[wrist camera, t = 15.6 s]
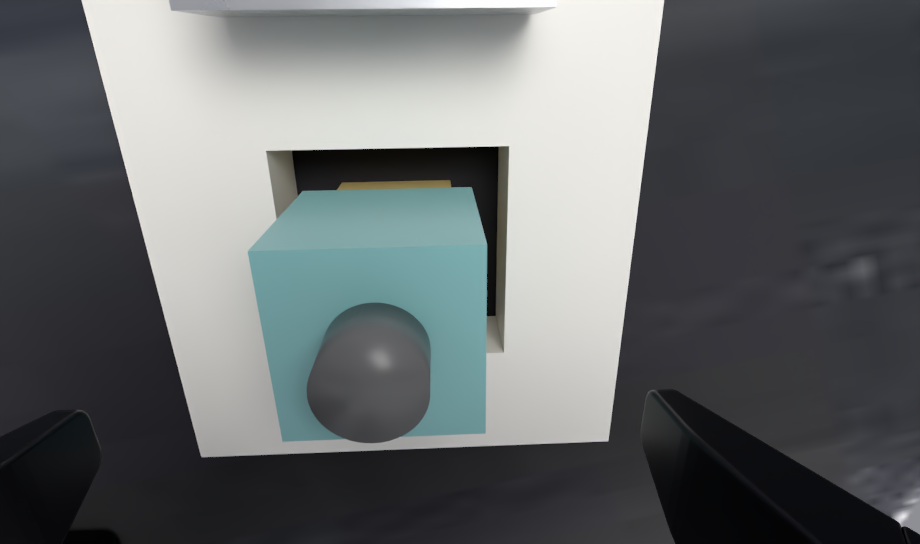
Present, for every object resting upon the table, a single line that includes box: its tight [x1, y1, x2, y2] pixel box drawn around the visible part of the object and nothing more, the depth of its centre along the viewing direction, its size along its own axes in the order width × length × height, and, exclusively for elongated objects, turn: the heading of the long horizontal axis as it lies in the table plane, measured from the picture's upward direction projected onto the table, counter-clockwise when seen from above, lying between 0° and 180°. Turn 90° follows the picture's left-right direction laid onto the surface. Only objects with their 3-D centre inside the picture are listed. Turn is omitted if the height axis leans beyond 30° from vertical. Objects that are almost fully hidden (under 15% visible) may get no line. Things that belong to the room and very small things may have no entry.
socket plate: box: [82, 0, 664, 457], centre depth 16 cm, size 18×14×2 cm
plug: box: [248, 180, 487, 443], centre depth 14 cm, size 4×4×9 cm
